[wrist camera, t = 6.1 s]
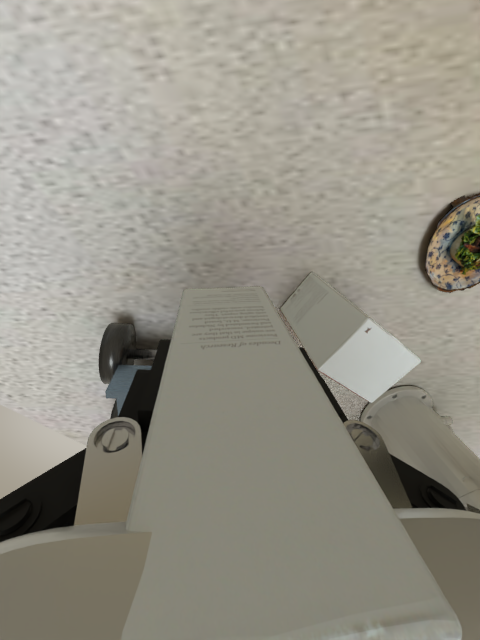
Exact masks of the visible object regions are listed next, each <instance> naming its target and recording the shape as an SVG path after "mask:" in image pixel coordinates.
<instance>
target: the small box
mask: <svg viewBox="0 0 480 640" xmlns="http://www.w3.org/2000/svg"><path fill="white" fill-rule="evenodd" d="M280 310H281V311H282V313H283V315H284V316H285V318H286V320H287V321H288V323H289V324H290V326H291V328H292V329H293V331H294V333H295V334H296V336H297V337H298V339H299V341H300V342H301V344H302V345H303V347H304V349H305V350H306V352H307V354H308V355H309V357H310V358H311V360H312V362H313V364H314V365H315V367H316V369H317V370H318V371H320V372H321V373H323V374H324V375H326V376H328V377H329V378H331V379H332V380H334V381H336V382H337V383H339V384H341V385H342V386H344V387H345V388H347V389H349V390H350V391H352V392H353V393H355V394H357V395H358V396H360V397H362V398H363V399H365V400H366V401H368V402H370V403H372V402H374V401H375V400H376V399H377V398H378V397H380V396H381V395H382V394H383V393H384V392H386V391H387V390H388V389H389V388H390V387H392V386H393V385H394V384H395V383H396V382H398V381H399V380H400V379H401V378H402V377H404V376H405V375H406V374H407V373H408V372H409V371H411V370H412V369H413V368H414V367H415V366H417V365H418V364H419V363H420V362H421V360H420V358H419V357H417V356H416V355H415V354H414V353H413V352H412V351H410V350H409V349H408V348H407V347H406V346H405V345H403V344H402V343H401V342H400V341H399V340H398V339H396V338H395V337H394V336H393V335H392V334H390V333H389V332H387V331H386V330H385V329H384V328H382V327H381V326H380V325H379V324H377V323H376V322H375V321H374V320H373V319H371V318H370V317H369V316H368V315H367V314H365V313H364V312H363V311H362V310H360V309H359V308H358V307H357V306H355V305H354V304H353V303H352V302H350V301H349V300H348V299H347V298H345V297H344V296H343V295H342V294H340V293H339V292H338V291H337V290H335V289H334V288H333V287H332V286H331V285H329V284H328V283H327V282H325V281H324V280H323V279H322V278H320V277H319V276H318V275H316V274H315V273H313V272H311V273H310V274H309V275H308V276H307V278H306V279H305V280H304V281H303V282H302V283H301V285H300V286H299V287H298V288H297V289H296V291H295V292H294V293H293V294H292V295H291V296H290V298H289V299H288V300H287V301H286V302H285V304H284V305H283V306H282V307H281V308H280Z"/></svg>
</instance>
